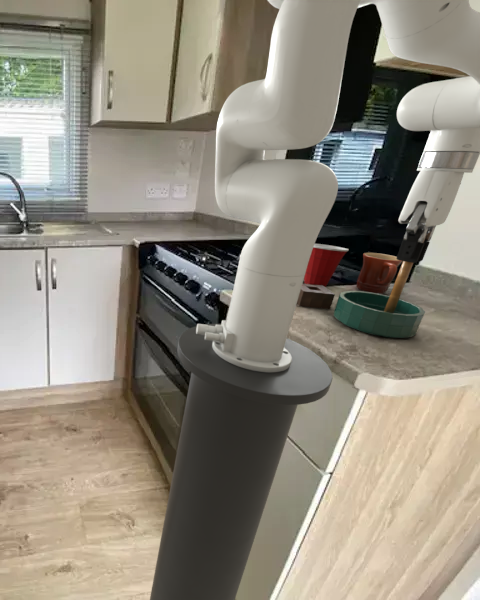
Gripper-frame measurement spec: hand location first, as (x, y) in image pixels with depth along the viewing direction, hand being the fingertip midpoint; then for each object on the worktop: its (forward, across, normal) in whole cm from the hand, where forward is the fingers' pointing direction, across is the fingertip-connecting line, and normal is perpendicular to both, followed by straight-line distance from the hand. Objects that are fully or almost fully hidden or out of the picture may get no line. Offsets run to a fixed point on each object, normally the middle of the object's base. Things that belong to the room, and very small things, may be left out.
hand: (409, 259), depth 72 cm
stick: (+13, 0, 0) cm, 13 cm away
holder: (+16, -2, -16) cm, 23 cm away
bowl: (+16, 0, -2) cm, 16 cm away
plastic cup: (+16, -21, -24) cm, 36 cm away
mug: (+16, -29, -12) cm, 35 cm away
